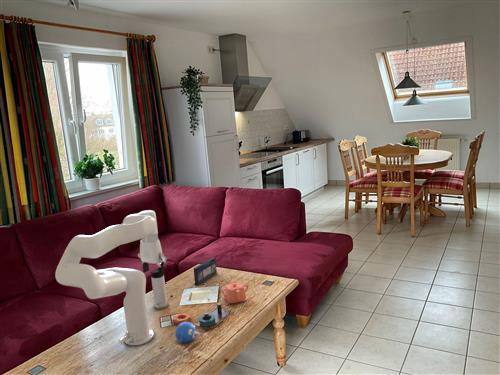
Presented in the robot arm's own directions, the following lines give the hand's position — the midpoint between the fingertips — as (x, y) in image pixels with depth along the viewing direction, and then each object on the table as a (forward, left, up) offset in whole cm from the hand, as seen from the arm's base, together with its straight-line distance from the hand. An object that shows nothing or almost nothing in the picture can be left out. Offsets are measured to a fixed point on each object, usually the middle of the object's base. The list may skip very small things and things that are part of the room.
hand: (153, 273), depth 195 cm
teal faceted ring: (+7, -23, -23) cm, 33 cm away
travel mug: (+12, +10, -24) cm, 29 cm away
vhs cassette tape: (+50, +10, -24) cm, 57 cm away
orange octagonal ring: (+4, -10, -24) cm, 27 cm away
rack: (+12, -23, -24) cm, 36 cm away
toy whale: (-8, -25, -24) cm, 36 cm away
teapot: (+33, -22, -24) cm, 47 cm away
